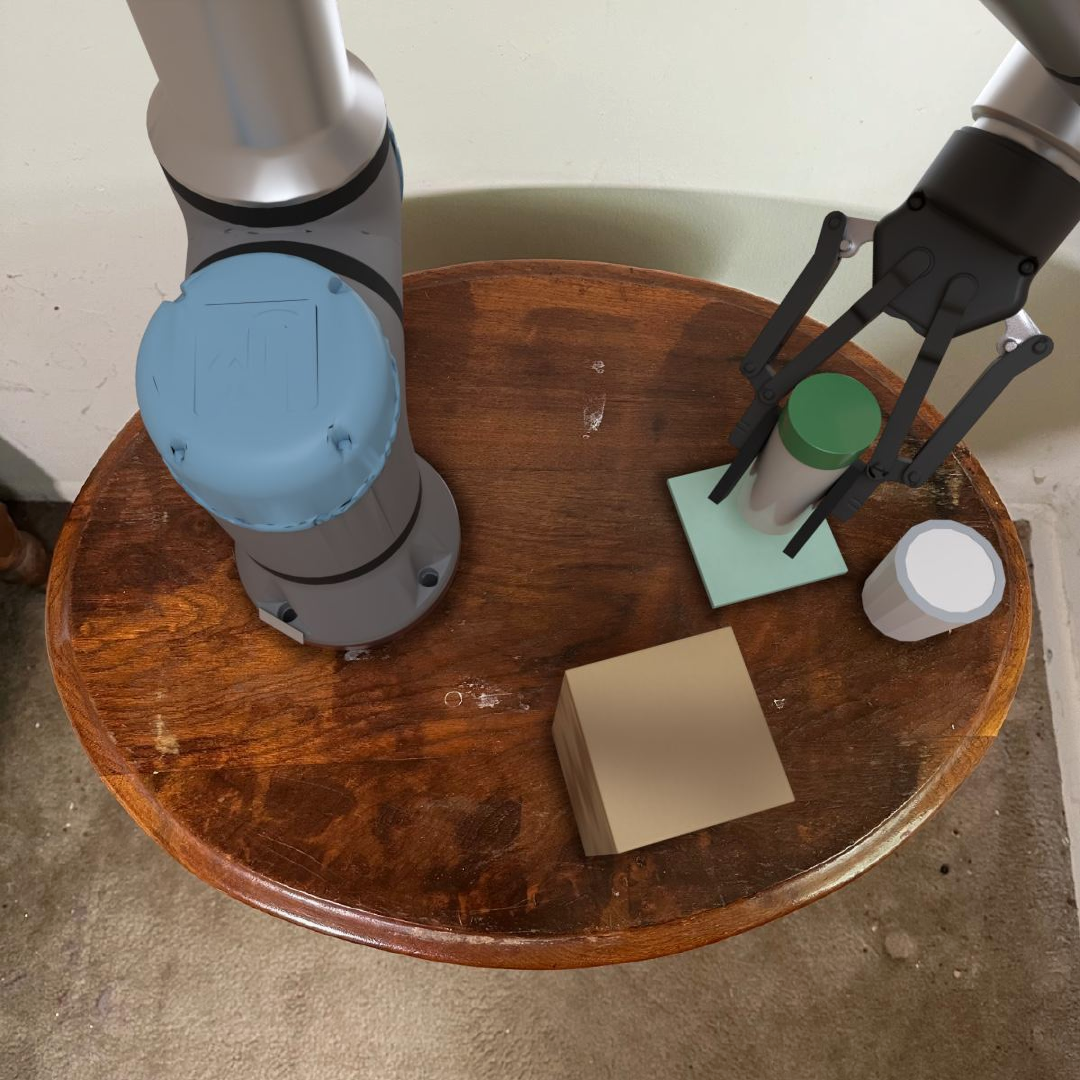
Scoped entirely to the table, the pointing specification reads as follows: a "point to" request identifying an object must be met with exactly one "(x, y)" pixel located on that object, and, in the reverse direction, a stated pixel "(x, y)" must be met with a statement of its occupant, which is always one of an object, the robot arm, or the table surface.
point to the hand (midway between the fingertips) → (754, 522)
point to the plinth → (665, 743)
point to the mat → (745, 544)
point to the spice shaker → (808, 451)
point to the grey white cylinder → (934, 582)
